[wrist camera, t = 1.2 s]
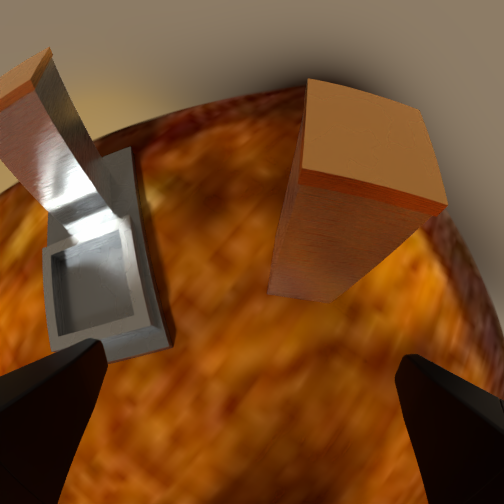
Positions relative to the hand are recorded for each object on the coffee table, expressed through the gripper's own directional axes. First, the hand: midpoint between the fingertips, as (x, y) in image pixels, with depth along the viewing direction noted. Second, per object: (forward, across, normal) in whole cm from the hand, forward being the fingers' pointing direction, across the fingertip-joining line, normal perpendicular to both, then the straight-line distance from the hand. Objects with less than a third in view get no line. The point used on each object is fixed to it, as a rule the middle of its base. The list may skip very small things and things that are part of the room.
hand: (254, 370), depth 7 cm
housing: (+15, +14, +2) cm, 21 cm away
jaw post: (+15, -4, +2) cm, 16 cm away
